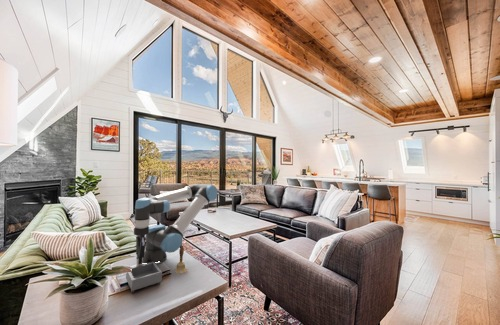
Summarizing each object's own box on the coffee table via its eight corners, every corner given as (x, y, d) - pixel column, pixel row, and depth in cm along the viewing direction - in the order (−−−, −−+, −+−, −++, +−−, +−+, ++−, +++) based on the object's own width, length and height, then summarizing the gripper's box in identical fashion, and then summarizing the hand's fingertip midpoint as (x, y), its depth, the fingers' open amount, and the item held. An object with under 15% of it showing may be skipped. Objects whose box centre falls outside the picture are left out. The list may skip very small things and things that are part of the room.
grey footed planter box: (125, 282, 111) (126, 268, 111) (153, 274, 120) (154, 261, 120) (131, 295, 101) (132, 280, 101) (161, 285, 110) (162, 271, 110)
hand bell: (172, 270, 127) (173, 244, 128) (186, 268, 131) (187, 242, 131) (174, 277, 120) (175, 249, 120) (189, 274, 124) (190, 247, 124)
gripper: (131, 224, 120) (129, 266, 119) (136, 230, 110) (134, 275, 109) (145, 222, 125) (143, 262, 124) (152, 228, 115) (149, 271, 114)
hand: (139, 268), depth 117 cm, fingers closed
